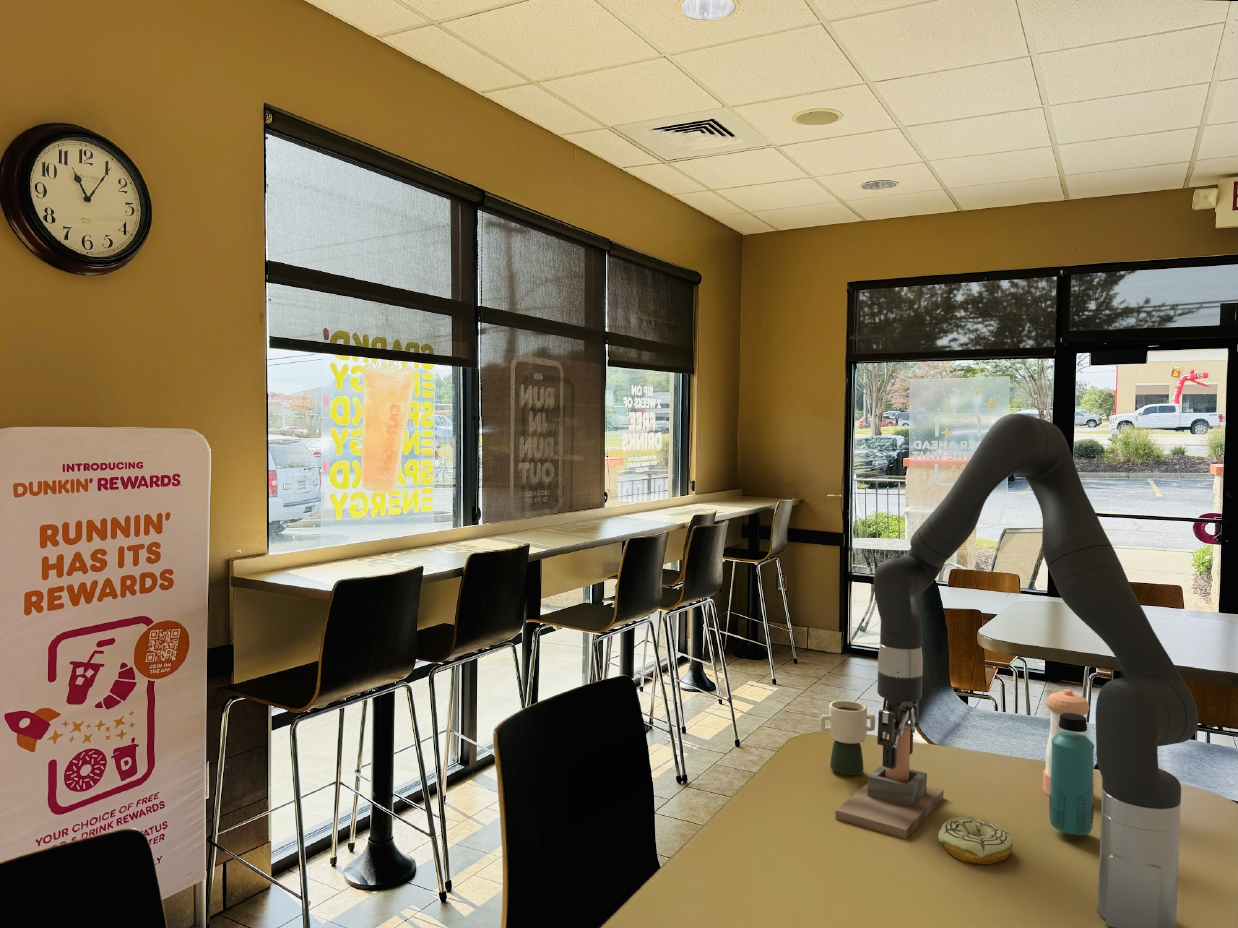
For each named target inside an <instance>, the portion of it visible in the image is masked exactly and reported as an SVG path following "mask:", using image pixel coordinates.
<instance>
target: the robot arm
mask: <svg viewBox="0 0 1238 928" xmlns="http://www.w3.org/2000/svg"><path fill="white" fill-rule="evenodd" d="M1013 474H1018V475H1022V476H1023V477H1024V478H1025V479H1026V481H1027V483H1028V485H1029V487H1030V488H1031V491H1032V493H1033V495H1034V496H1035V499H1036V500H1037V503H1038V506H1039V508H1040V509H1039V510H1040V511H1041V516H1042V517H1041V518H1042V532H1041V533H1042V538H1041V539H1042V540H1041V542H1042V545H1041V546H1042V553H1043V557H1044V558H1043V559H1044V561H1045V564H1046V568H1047V570H1048V572H1049V574H1050V576H1051V578H1052V581H1053V582H1054V585H1055V588H1056V590H1057V592H1058V594H1059V596H1060V598H1061V599H1062V601H1063V602H1064V603H1065V605H1066V606H1067V608H1069V609H1070V610H1071V612H1072V613H1074V614H1075V615H1076V616H1077V617H1078V619H1080V620H1081V621H1082V622H1083V623H1084V624H1085V625H1086V626H1088V627H1089V628H1090V630H1092V632H1094V633H1095V634H1096V635H1097V636H1098V637H1099V638H1100V639H1101V640H1102V641H1103V642H1104V643H1105V644H1106V646H1107V647H1108V648H1109V650H1110V651H1111V652H1112V654H1113V655H1114V657H1115V658H1116V660H1117V662H1118V664H1119V667H1120V668H1121V671H1122V673H1123V674H1124V677H1122V678H1121V677H1120V678H1115V679H1111V680H1109V681H1107V682H1106V683H1105V684H1104V685H1102V687H1101V688H1100V690H1099V693H1098V695H1097V698H1096V702H1095V703H1096V704H1095V746H1096V748H1095V749H1096V751H1095V752H1096V753H1095V754H1096V755H1095V756H1096V763H1097V767H1098V771H1099V773H1100V775H1101V808H1100V834H1099V835H1100V837H1099V838H1100V839H1099V865H1098V891H1097V893H1098V894H1097V895H1098V896H1097V899H1098V900H1097V910H1098V913H1099V915H1100V916H1101V918H1103V919H1104V920H1105V925H1106V926H1108V927H1110V928H1177V912H1178V911H1177V908H1178V879H1179V877H1178V876H1179V856H1180V855H1179V853H1180V852H1179V851H1180V849H1179V848H1180V825H1181V802H1182V787H1181V782H1180V781H1179V779H1178V778H1177V777H1176V776H1175V775H1174V774H1172V773H1170V772H1168V771H1166V770H1164V769H1162V768H1160V767H1159V756H1158V753H1159V752H1158V748H1159V747H1166V746H1170V745H1176V744H1181V743H1185V742H1187V741H1189V740H1190V739H1192V738H1193V737H1194V735H1195V734H1196V732H1197V731H1198V727H1199V713H1198V707H1197V704H1196V702H1195V699H1194V696H1193V695H1192V692H1191V690H1190V689H1189V686H1188V685H1187V683H1186V682H1185V680H1184V679H1183V677H1182V675H1181V673H1180V671H1179V670H1178V669H1177V667H1176V666H1175V664H1174V662H1173V660H1172V659H1171V658H1170V656H1169V654H1168V652H1167V651H1166V649H1165V647H1164V646H1163V645H1162V643H1161V641H1160V639H1159V638H1158V636H1157V634H1156V632H1155V631H1154V629H1153V627H1152V625H1151V623H1150V621H1149V619H1148V617H1147V615H1146V613H1145V611H1144V609H1143V608H1142V606H1141V603H1140V601H1139V600H1138V598H1137V596H1136V594H1135V591H1134V590H1133V588H1132V586H1131V583H1130V582H1129V580H1128V577H1127V575H1126V572H1125V569H1124V568H1123V565H1122V563H1121V562H1120V559H1119V557H1118V554H1117V553H1116V551H1115V548H1114V546H1113V545H1112V543H1111V541H1110V539H1109V538H1108V536H1107V534H1106V532H1105V530H1104V527H1103V525H1102V524H1101V522H1100V519H1099V517H1098V515H1097V513H1096V510H1095V509H1094V507H1093V505H1092V503H1091V501H1090V499H1089V496H1088V495H1087V493H1086V491H1085V488H1084V486H1083V484H1082V480H1081V478H1080V475H1079V473H1078V469H1077V467H1076V464H1075V461H1074V458H1073V455H1072V451H1071V449H1070V446H1069V444H1068V441H1067V439H1066V437H1065V434H1064V433H1063V432H1062V430H1061V429H1060V427H1058V426H1057V425H1055V424H1054V423H1053V422H1051V421H1049V420H1046V419H1043V418H1038V417H1034V416H1032V415H1028V414H1027V415H1026V414H1023V413H1010V414H1006V415H1004V416H1002V417H1000V418H999V419H998V420H996V421H995V422H994V423H993V425H992V426H991V427H990V428H989V429H988V431H987V432H986V433H985V434H984V437H983V438H982V440H981V441H980V443H979V445H978V446H977V448H976V450H975V451H974V452H973V455H972V456H971V458H970V459H969V461H968V462H967V464H966V466H965V467H964V468H963V470H962V471H961V473H960V474H959V477H957V479H956V481H955V483H954V484H953V486H951V489H949V492H948V493H947V494H946V495H945V497H944V498H943V500H942V501H941V502H940V503H939V505H937V507H935V509H934V510H933V511H932V512H931V514H930V515H929V516H928V517H927V518H926V519H925V520H924V521H923V523H922V524H921V525H920V526H919V527H918V528H917V529H916V530H915V531H914V533H913V534H912V536H911V538H910V543H909V544H910V547H911V548H909V550H908V551H907V552H906V553H905V554H904V555H903V556H901V557H895V558H890V559H889V558H888V559H885V560H884V561H882V562H880V564H879V565H878V566H877V567H876V569H875V572H874V576H873V593H874V597H875V603H876V607H877V611H878V615H879V619H880V629H879V630H880V632H879V634H880V635H879V636H880V637H879V649H878V654H877V655H878V656H877V689H876V691H877V694H878V696H880V697H881V698H883V699H885V700H886V706H885V708H884V710H883V709H879V711H878V718H877V719H878V720H877V742H876V743H877V745H879V746H882V764H883V766H884V767H886V768H890V769H894V768H895V767H896V760H897V743H898V739H899V737H901V736H902V735H903V731H904V727H905V726H908V727H909V728H910V756H911V755H912V754H913V753H914V734H915V732H916V728H918V727H919V724H920V721H919V720H920V719H919V717H920V715H919V714H920V713H919V712H920V711H919V708H920V707H919V705H920V704H919V703H920V702H919V701H920V700H921V698H922V697H923V670H924V669H923V666H924V664H923V661H924V659H923V650H922V649H923V647H922V645H923V623H922V621H923V620H922V617H921V616H920V614H918V613H917V612H916V611H913V610H912V604H911V597H914V596H918V595H921V594H923V592H925V591H926V590H927V589H928V588H930V587H931V585H932V584H933V583H934V582H935V580H936V579H937V577H938V576H939V574H940V572H941V571H942V569H943V568H944V566H945V563H946V562H947V561H948V560H949V559H950V558H951V557H952V556H953V555H954V554H955V553H956V552H957V551H958V550H959V549H960V548H961V547H962V546H963V544H964V543H966V541H967V540H968V539H969V538H970V536H971V535H972V533H973V532H974V530H975V528H976V527H977V524H978V522H979V520H980V516H981V514H982V510H983V508H984V506H985V503H986V501H987V499H988V498H989V496H990V495H991V494H992V492H993V491H994V490H995V489H996V488H997V487H998V486H999V485H1000V484H1001V483H1002V482H1004V481H1005V480H1006V479H1007V478H1008V477H1010V476H1011V475H1013ZM894 728H895V729H894ZM888 734H889V739H887V736H888Z"/></svg>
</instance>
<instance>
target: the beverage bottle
mask: <svg viewBox="0 0 1238 928" xmlns="http://www.w3.org/2000/svg"><path fill="white" fill-rule="evenodd" d="M1087 721H1088V720H1087V716H1085V715H1084V716H1082V715H1080V714H1076V713H1062V714H1060V720H1059V727H1060V728H1062V729H1064V730H1068V731H1073V732H1060V733H1058V734H1057V735H1055V736H1054V737H1053V738H1052V741H1051V742H1052V759H1051V778H1050V779H1051V781H1050V782H1051V785H1050V786H1051V792H1050V796H1049V795H1048V796H1049V798H1048V799H1049V801H1048V803H1049V807H1048V809H1049V810H1048V816H1049V817H1048V819H1049V822H1050V825H1051V826H1052V827H1053V829H1056V830H1058V831H1060V832H1063V833H1065V834H1066V833H1067V834H1070V835H1077V836H1078V835H1079V836H1083V835H1088V834H1091V832H1092V830H1093V827H1094V819H1095V818H1094V813H1095V812H1094V811H1095V810H1094V809H1095V806H1094V800H1095V790H1094V780H1095V778H1094V755H1095V754H1094V751H1095V750H1094V749H1095V744H1094V743H1093V742H1092V741H1091V739H1089V738H1088V737H1087V735H1085V734H1084V735H1082V734H1079V733H1074V732H1084V733H1085V732H1087V731H1088V725H1087Z"/></svg>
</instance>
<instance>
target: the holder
mask: <svg viewBox="0 0 1238 928" xmlns="http://www.w3.org/2000/svg"><path fill="white" fill-rule="evenodd" d="M885 776H886V767H884V766H883V763H882V764H881V765H880V766H879V767H878V768H876V769H874V770H873V772H871V773H870V774H869V775H868V776H867V783H866V784H864V785H863V786H862V787H861V788H860V789H859V790H858V791H856V792H855V793H853V795H852V796H850V797H849V798H848V799H847V800H846V801H844V802H843V803H842V804H841V805H840V806H839V807H837V808H836V809H835V820H838V821H842V822H844V823H848V824H852V825H856V826H859V827H863V828H867V829H869V830H873V831H877V832H880V833H884V834H886V835H891V836H894V837H897V838H899V839H900V838H901V839H905V840H906V839H907V838H908V837H910V835H911V834H912V832H914V830H916V828H917V827H918V826H919V825H920V824H921V823H922V822H923V821H924V820H925V819H926V817H927V816H928V815H929V814H930V813H931V812H932V811H933V810H934V809H935V808H936V806H938V805H939V803H941V801H942V800H943V799H944V789H941V788H938V787H933V786H929V785H927V782H928V781H927V780H928V779H927V778H928V773H927V772H923V771H920V770H919V771H918V770H915V769H911V768H909V783H904V782H900V781H896V780H892V779H888V778H885Z"/></svg>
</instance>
